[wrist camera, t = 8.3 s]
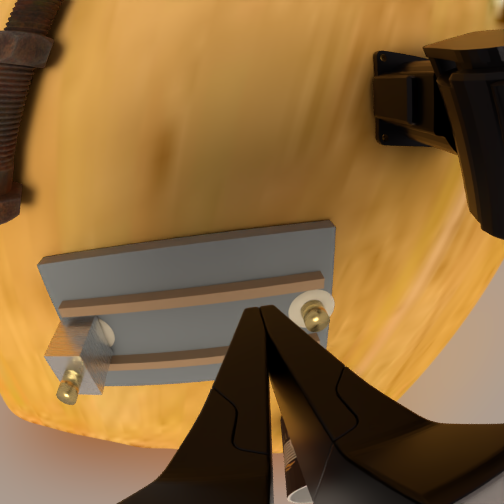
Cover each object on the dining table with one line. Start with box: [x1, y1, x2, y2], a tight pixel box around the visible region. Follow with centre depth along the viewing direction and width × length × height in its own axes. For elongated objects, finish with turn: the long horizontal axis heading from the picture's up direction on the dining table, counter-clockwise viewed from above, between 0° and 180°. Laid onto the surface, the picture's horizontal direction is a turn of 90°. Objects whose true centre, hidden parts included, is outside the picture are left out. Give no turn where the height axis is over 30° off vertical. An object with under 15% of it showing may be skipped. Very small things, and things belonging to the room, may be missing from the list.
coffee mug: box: [281, 417, 313, 503], centre depth 28 cm, size 12×9×10 cm
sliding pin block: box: [44, 315, 113, 405], centre depth 19 cm, size 3×4×6 cm
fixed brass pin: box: [300, 300, 330, 332], centre depth 23 cm, size 2×2×2 cm
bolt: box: [0, 0, 63, 224], centre depth 12 cm, size 6×5×15 cm
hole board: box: [37, 220, 336, 386], centre depth 23 cm, size 21×13×2 cm, turn 94°
